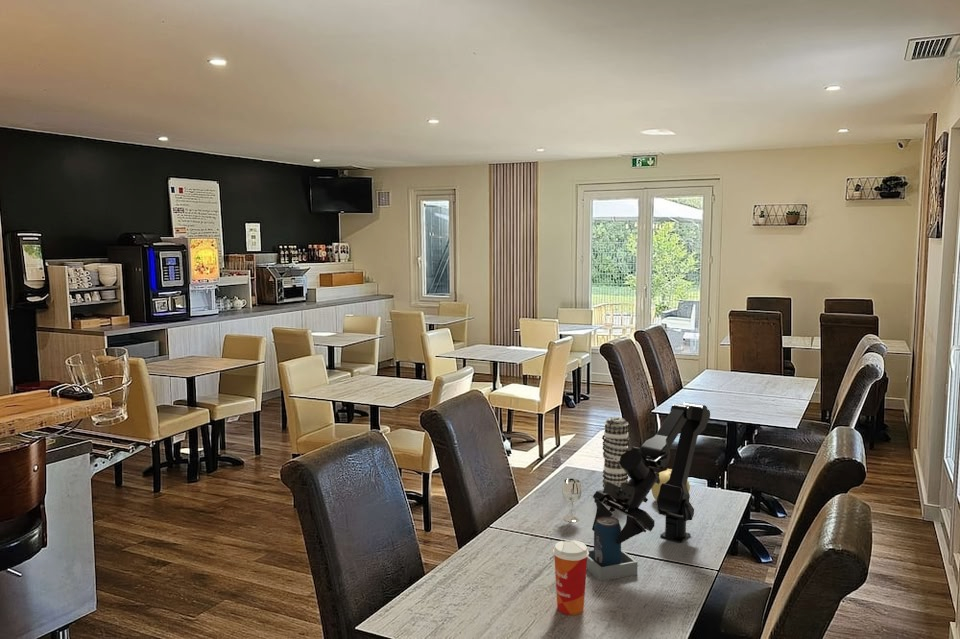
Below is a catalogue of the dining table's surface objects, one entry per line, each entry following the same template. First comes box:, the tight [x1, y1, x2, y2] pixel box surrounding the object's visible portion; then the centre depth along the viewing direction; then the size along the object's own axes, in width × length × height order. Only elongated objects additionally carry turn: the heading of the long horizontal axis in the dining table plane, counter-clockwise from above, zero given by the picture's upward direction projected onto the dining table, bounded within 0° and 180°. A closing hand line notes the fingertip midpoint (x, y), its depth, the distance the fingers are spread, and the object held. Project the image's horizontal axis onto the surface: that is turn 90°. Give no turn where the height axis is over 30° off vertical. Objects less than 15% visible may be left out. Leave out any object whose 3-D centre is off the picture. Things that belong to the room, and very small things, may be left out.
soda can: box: [593, 516, 622, 567], centre depth 185 cm, size 7×7×12 cm
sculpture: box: [651, 468, 691, 502], centre depth 231 cm, size 12×12×11 cm
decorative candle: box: [601, 416, 631, 491], centre depth 241 cm, size 9×9×25 cm
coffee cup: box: [552, 539, 589, 616], centre depth 165 cm, size 8×8×15 cm
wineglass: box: [561, 478, 582, 523], centre depth 217 cm, size 6×6×12 cm
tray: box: [586, 548, 639, 582], centre depth 185 cm, size 11×11×3 cm
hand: (604, 536), depth 184 cm, fingers open, 9 cm apart
